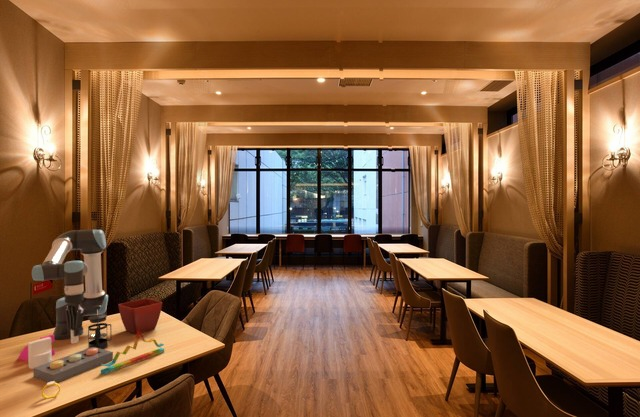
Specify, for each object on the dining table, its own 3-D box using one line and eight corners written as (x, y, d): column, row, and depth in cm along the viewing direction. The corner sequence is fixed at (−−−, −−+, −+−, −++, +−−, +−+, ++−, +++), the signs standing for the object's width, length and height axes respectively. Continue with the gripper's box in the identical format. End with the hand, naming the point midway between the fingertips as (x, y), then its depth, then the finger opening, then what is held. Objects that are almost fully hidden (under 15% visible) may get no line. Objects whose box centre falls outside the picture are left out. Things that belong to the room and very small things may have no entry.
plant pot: (147, 322, 237) (147, 297, 237) (163, 328, 226) (163, 301, 226) (117, 331, 222) (117, 304, 222) (133, 337, 211) (132, 309, 211)
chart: (104, 375, 163) (103, 343, 163) (100, 373, 165) (100, 341, 165) (164, 352, 189) (164, 324, 189) (161, 351, 190) (160, 323, 190)
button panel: (33, 376, 162) (33, 368, 162) (93, 354, 186) (93, 346, 186) (53, 384, 155) (53, 374, 155) (112, 359, 180) (112, 351, 179)
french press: (85, 352, 189) (84, 309, 189) (87, 346, 198) (86, 305, 198) (111, 348, 195) (110, 306, 195) (111, 342, 203) (111, 302, 203)
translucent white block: (33, 370, 169) (32, 345, 169) (25, 366, 174) (24, 341, 174) (55, 363, 177) (54, 339, 176) (47, 359, 181) (46, 335, 181)
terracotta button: (83, 356, 177) (83, 350, 177) (93, 353, 181) (93, 347, 181) (90, 358, 175) (89, 352, 175) (100, 354, 179) (100, 348, 179)
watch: (41, 401, 142) (40, 386, 142) (43, 398, 144) (41, 383, 144) (60, 396, 145) (58, 381, 145) (61, 393, 147) (59, 379, 147)
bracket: (54, 354, 187) (54, 335, 187) (32, 362, 178) (32, 341, 178) (40, 351, 192) (39, 332, 192) (18, 358, 182) (17, 338, 182)
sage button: (66, 363, 170) (66, 356, 170) (77, 359, 174) (77, 353, 174) (72, 365, 168) (72, 358, 167) (83, 360, 172) (83, 354, 172)
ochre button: (47, 370, 162) (47, 363, 162) (59, 365, 167) (59, 359, 167) (53, 372, 160) (53, 365, 160) (65, 367, 165) (65, 361, 165)
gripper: (57, 293, 170) (58, 343, 170) (74, 296, 164) (74, 347, 164) (74, 290, 177) (74, 337, 177) (90, 292, 171) (91, 341, 171)
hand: (74, 342), depth 171 cm, fingers closed
